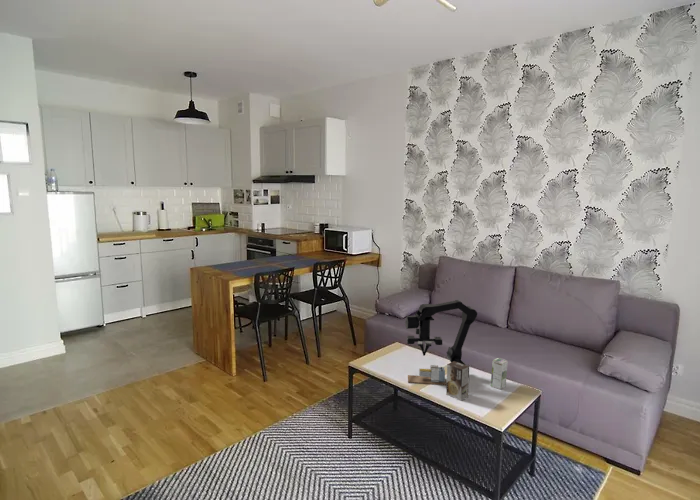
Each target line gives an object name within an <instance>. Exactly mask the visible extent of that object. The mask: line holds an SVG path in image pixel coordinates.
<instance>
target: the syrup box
mask: <svg viewBox="0 0 700 500" xmlns="http://www.w3.org/2000/svg"><path fill="white" fill-rule="evenodd" d="M508 364H509V363H508V360H506V359H504V358H501V357H497V358H494V359H493V360H492V363H491V378H490V387H492V388H494V389H498V390H503V389H504V388H506V386H507V374H508Z"/></svg>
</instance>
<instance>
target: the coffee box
mask: <svg viewBox="0 0 700 500" xmlns="http://www.w3.org/2000/svg"><path fill="white" fill-rule="evenodd" d="M464 364H465V363H464ZM464 364H462V363H459V362H456V361H453V362H450V363H447V365H446V390H445V392H446V395H447V396H450V397H452V398H455V399H456V400H459V401H463V400H465V399H467V398H468V397H469V386H470V385H469V383H470V382H469V381H470V380H469V379H470V365H468V364H465V365H464Z"/></svg>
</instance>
